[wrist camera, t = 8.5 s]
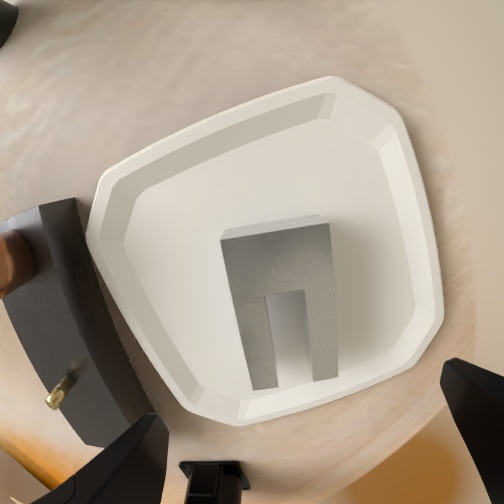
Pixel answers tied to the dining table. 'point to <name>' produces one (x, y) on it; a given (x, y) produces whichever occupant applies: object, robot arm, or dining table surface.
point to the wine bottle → (6, 20)
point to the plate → (261, 211)
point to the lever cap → (283, 280)
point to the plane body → (67, 323)
